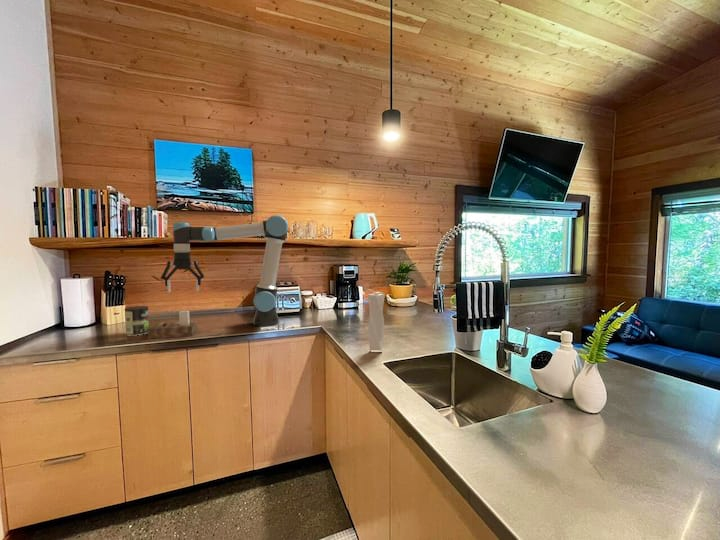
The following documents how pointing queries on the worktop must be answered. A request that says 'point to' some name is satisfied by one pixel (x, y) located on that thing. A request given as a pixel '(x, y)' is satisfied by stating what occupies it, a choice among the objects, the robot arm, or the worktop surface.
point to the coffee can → (136, 320)
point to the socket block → (172, 330)
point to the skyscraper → (376, 320)
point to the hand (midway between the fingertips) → (183, 291)
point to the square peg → (184, 318)
